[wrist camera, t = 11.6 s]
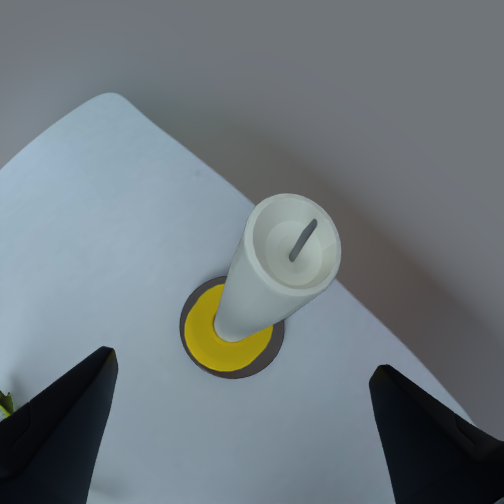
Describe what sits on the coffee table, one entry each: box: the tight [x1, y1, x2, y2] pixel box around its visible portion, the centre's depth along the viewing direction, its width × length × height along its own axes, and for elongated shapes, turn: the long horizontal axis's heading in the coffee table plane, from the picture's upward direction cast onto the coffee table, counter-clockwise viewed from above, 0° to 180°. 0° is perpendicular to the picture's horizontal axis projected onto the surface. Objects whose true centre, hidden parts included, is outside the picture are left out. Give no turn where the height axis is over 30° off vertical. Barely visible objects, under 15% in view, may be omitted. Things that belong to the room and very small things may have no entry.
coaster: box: [180, 276, 284, 379], centre depth 18 cm, size 7×7×1 cm
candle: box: [185, 193, 341, 371], centre depth 10 cm, size 5×5×16 cm
